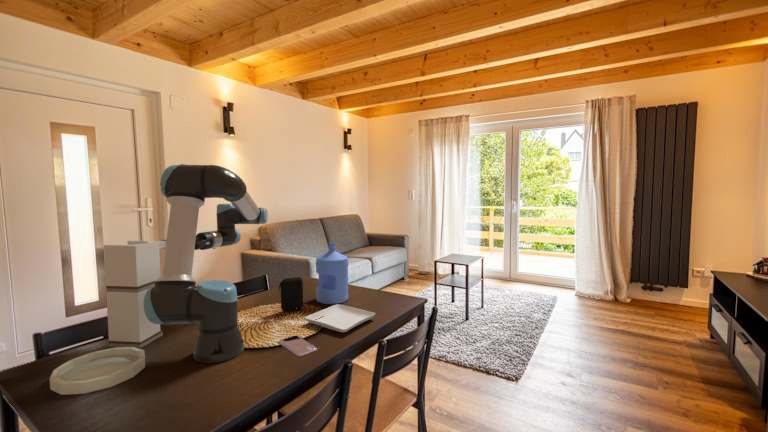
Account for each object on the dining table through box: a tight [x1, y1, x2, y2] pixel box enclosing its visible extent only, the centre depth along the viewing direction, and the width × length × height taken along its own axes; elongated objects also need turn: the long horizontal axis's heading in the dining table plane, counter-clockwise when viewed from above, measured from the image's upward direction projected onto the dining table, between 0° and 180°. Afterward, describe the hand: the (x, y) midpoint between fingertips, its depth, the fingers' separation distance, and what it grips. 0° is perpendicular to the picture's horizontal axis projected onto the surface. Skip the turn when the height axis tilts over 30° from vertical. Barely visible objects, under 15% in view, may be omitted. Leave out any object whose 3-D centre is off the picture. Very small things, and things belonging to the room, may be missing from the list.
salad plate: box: [304, 303, 376, 333], centre depth 143 cm, size 21×21×3 cm
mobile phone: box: [277, 335, 318, 357], centre depth 121 cm, size 8×1×15 cm
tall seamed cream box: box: [103, 240, 164, 349], centre depth 123 cm, size 11×11×35 cm
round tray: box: [49, 347, 146, 396], centre depth 102 cm, size 21×21×3 cm
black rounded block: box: [278, 276, 304, 312], centre depth 155 cm, size 11×3×15 cm, turn 117°
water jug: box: [315, 242, 349, 305], centre depth 170 cm, size 16×16×28 cm
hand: (160, 247), depth 133 cm, fingers open, 13 cm apart
